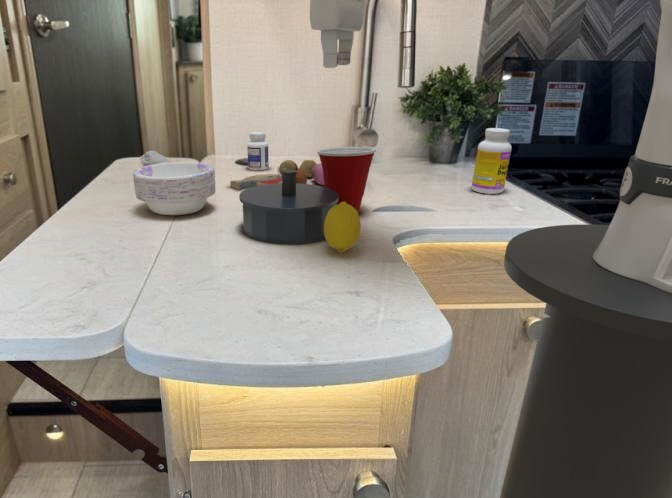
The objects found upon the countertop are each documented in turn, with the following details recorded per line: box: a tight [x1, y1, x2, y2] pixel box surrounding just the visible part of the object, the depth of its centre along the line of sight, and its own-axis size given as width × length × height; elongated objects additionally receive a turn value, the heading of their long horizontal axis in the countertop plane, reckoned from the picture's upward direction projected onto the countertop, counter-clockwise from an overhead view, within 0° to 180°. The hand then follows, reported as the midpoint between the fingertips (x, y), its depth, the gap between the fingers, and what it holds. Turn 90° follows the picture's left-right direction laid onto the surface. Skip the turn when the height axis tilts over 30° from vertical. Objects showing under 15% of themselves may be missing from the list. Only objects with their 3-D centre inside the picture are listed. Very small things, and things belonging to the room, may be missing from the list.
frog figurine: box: [139, 149, 171, 167], centre depth 125 cm, size 6×7×7 cm
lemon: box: [324, 202, 362, 254], centre depth 82 cm, size 6×6×8 cm
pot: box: [242, 203, 337, 245], centre depth 94 cm, size 16×16×5 cm
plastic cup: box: [316, 146, 377, 213], centre depth 101 cm, size 11×11×12 cm
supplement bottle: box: [471, 127, 513, 195], centre depth 115 cm, size 7×7×13 cm
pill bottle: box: [246, 131, 270, 171], centre depth 137 cm, size 5×5×9 cm
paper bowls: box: [132, 161, 216, 216], centre depth 104 cm, size 15×15×8 cm
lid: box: [238, 170, 339, 212], centre depth 92 cm, size 17×17×5 cm
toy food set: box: [229, 159, 325, 191], centre depth 124 cm, size 26×16×4 cm, turn 135°
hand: (337, 66), depth 79 cm, fingers open, 8 cm apart
